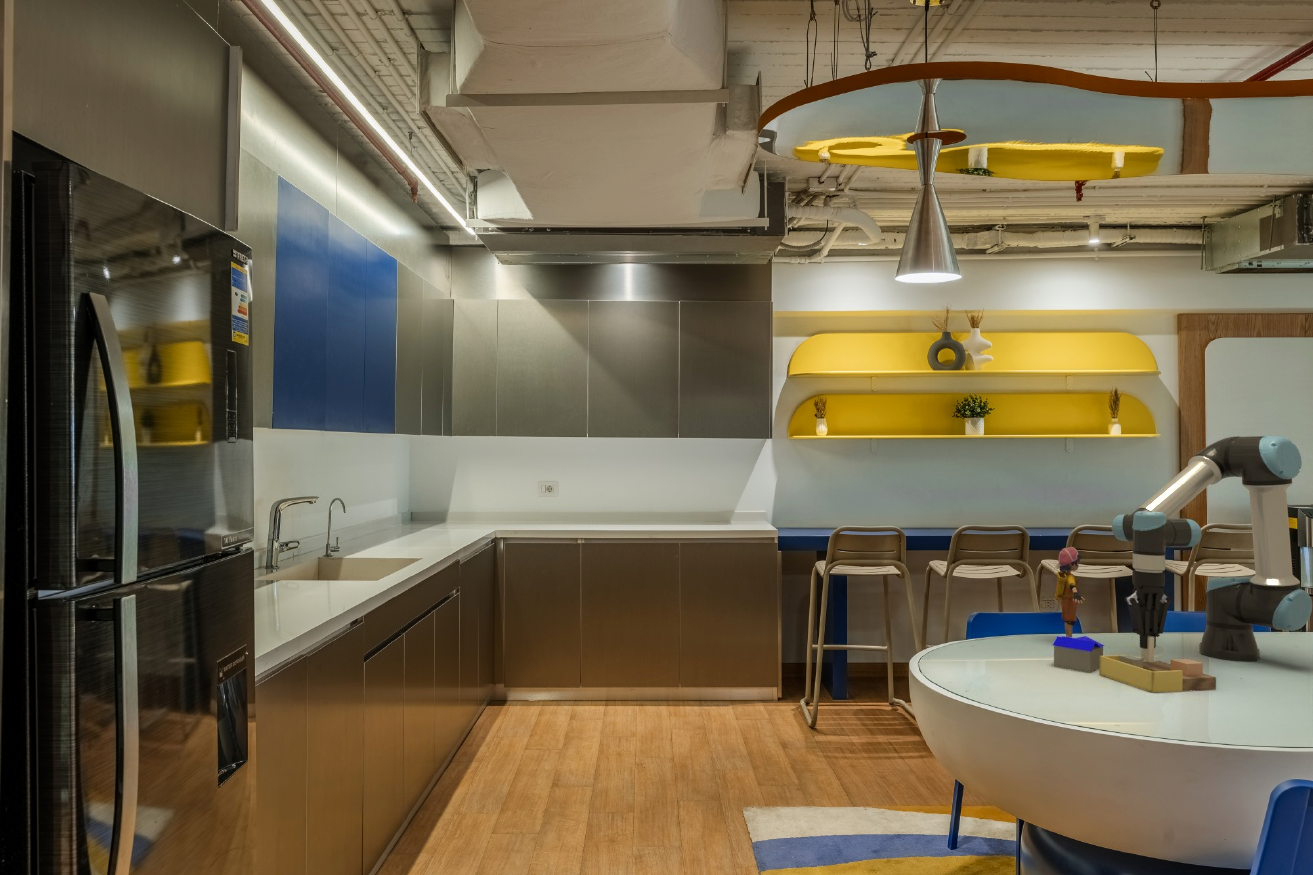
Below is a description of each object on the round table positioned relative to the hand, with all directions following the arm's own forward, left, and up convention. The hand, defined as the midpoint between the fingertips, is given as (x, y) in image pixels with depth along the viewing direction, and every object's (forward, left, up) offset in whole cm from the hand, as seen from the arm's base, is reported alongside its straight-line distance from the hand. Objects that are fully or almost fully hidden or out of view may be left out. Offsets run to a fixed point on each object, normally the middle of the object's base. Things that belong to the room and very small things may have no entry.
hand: (1147, 660), depth 235 cm
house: (+10, -14, -5) cm, 18 cm away
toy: (-8, -41, -5) cm, 42 cm away
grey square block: (+4, 0, -2) cm, 4 cm away
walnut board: (-3, +4, -5) cm, 7 cm away
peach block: (-4, +8, -2) cm, 9 cm away
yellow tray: (+6, +4, -5) cm, 9 cm away
